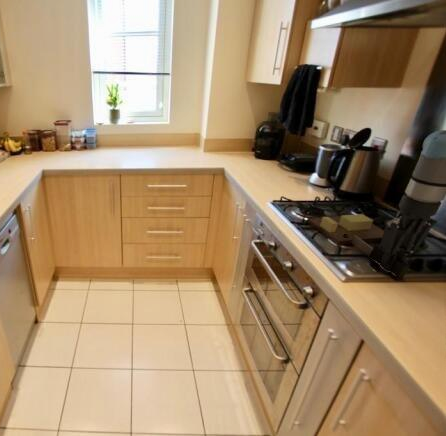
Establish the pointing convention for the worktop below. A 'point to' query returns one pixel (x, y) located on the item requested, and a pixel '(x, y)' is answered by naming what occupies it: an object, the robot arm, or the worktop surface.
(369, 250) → the knife
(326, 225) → the butter slice
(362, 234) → the board
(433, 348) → the worktop surface
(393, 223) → the robot arm
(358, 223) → the butter
